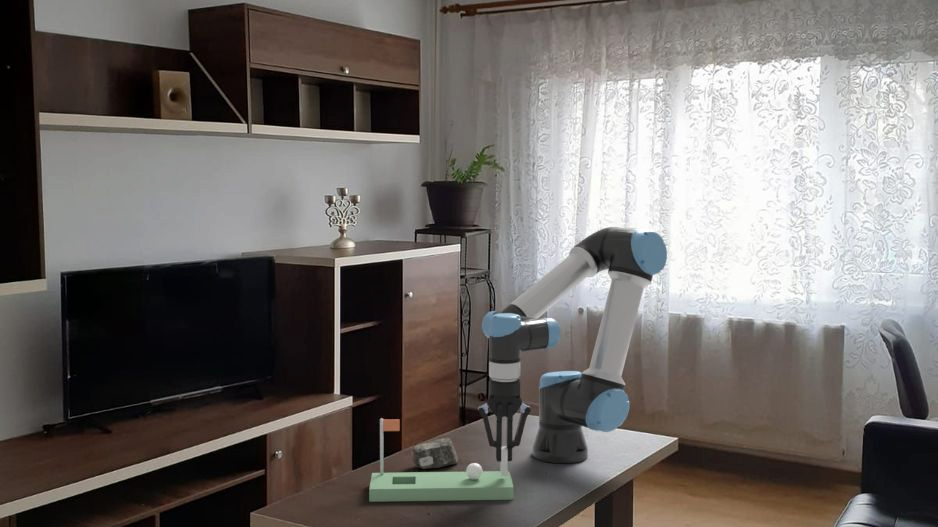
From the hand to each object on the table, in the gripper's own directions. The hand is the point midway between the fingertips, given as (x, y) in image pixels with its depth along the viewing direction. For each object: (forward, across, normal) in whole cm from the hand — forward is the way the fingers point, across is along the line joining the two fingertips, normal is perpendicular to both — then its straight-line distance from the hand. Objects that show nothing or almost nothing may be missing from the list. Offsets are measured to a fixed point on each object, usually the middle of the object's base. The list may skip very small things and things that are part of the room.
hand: (503, 474), depth 225 cm
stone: (+5, +16, -21) cm, 27 cm away
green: (+4, +15, 0) cm, 16 cm away
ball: (-1, +7, 0) cm, 7 cm away
